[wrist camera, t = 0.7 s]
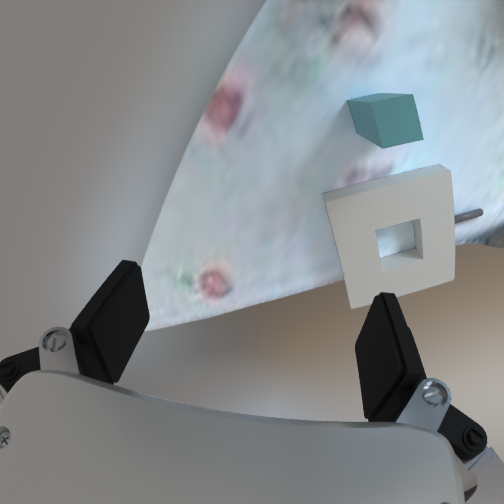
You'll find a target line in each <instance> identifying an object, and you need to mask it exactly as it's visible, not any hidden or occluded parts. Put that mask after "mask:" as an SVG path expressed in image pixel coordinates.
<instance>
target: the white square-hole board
mask: <svg viewBox="0 0 504 504" xmlns="http://www.w3.org/2000/svg"><path fill="white" fill-rule="evenodd" d="M323 198H324V201H325V205H326V209H327V212H328V216H329V219H330V223H331V227H332V231H333V234H334V238H335V242H336V246H337V250H338V254H339V258H340V263H341V267H342V271H343V275H344V280H345V284H346V289H347V293H348V298H349V302H350V307H351V309H354V308H358V307H362V306H366V305H370V304H372V302H373V299H374V297H375V296H376V295H379V294H380V292H387V293H394V294H395V295H396V297H399V296H403V295H406V294H409V293H413V292H416V291H420V290H423V289H426V288H429V287H433V286H436V285H439V284H442V283H445V282H448V281H452V280H454V271H455V223H458V222H462V221H465V220H469V219H472V218H475V217H479V216H482V215H483V210H482V209H477V210H473V211H470V212H466V213H463V214H459V215H456V216H454V202H453V189H452V179H451V170H449V169H447V168H446V167H444V166H442V165H441V164H437V165H433V166H429V167H424V168H420V169H416V170H412V171H408V172H404V173H400V174H395V175H391V176H387V177H383V178H380V179H376V180H372V181H368V182H364V183H360V184H356V185H352V186H349V187H345V188H341V189H337V190H334V191H330V192H326V193H323ZM412 220H413V223H414V232H415V243H416V248H415V249H411V250H408V251H404V252H401V253H397V254H393V255H390V256H386V257H382V258H380V256H379V249H378V243H377V237H376V231H375V230H378V229H382V228H386V227H389V226H393V225H397V224H400V223H404V222H408V221H412Z"/></svg>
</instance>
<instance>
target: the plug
mask: <svg viewBox="0 0 504 504" xmlns="http://www.w3.org/2000/svg"><path fill="white" fill-rule="evenodd" d="M347 102H348V105H349V108H350V111H351V115H352V118H353V121H354V125H355V128H356V132H357V133H358V134H359V135H361V136H363V137H364V138H366V139H368V140H369V141H371V142H373V143H374V144H376V145H378V146H379V147H381V148H382V149H383V148H388V147H392V146H396V145H401V144H405V143H410V142H414V141H419V140H423V135H422V130H421V125H420V121H419V117H418V112H417V108H416V104H415V100H414V97H413V94H393V93H378V94H373V95H368V96H363V97H359V98H354V99H350V100H347Z"/></svg>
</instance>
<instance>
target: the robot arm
mask: <svg viewBox="0 0 504 504" xmlns="http://www.w3.org/2000/svg"><path fill="white" fill-rule="evenodd" d="M149 318H150V315H149V310H148V305H147V299H146V294H145V289H144V283H143V277H142V271H141V267H140V266H138V265H137V263H136V262H134V261H128V260H122V261H121V262H120V263H119V265H118V266H117V267H116V268H115V269H114V271H113V272H112V273H111V274H110V275H109V277H108V278H107V279H106V281H105V282H104V283H103V284H102V285H101V287H100V288H99V289H98V290H97V292H96V293H95V294H94V295H93V297H92V298H91V299H90V301H89V302H88V303H87V304H86V306H85V307H84V308H83V310H82V311H81V313H80V314H79V315H78V316H77V318H76V319H75V320H74V322H73V323H72V325H71V327H70V329H69V330H68V329H66V328H63V327H55V328H52V329H49V330H48V331H46V332H45V333H44V334H43V335H42V336H41V338H40V340H39V347H37V348H34V349H31V350H28V351H25V352H22V353H19V354H16V355H13V356H10V357H7V358H5V359H3V360H2V361H1V362H0V504H502V503H503V502H504V463H503V462H502V460H501V459H500V458H499V456H498V455H497V454H496V453H495V451H494V450H493V448H492V447H490V448H488V447H487V446H486V445H487V435H486V432H485V431H484V429H483V428H482V427H481V426H480V425H479V424H478V423H476V422H474V421H473V420H472V419H471V418H469V417H468V416H466V415H465V414H464V413H462V412H461V411H459V410H458V409H457V408H455V407H454V406H452V405H451V404H450V402H451V393H450V390H449V388H448V387H447V386H446V384H444V383H443V382H442V381H440V380H438V379H435V378H426V374H425V371H424V368H423V365H422V362H421V358H420V355H419V353H418V349H417V347H416V344H415V341H414V338H413V335H412V333H411V330H410V328H409V327H408V326H407V324H406V321H405V318H404V316H403V313H402V310H401V308H400V305H399V303H398V300H397V298H396V295H395V294H394V293H387V292H380V294H379V295H376V296H375V297H374V299H373V302H372V304H371V307H370V310H369V312H368V315H367V317H366V320H365V322H364V324H363V327H362V330H361V332H360V334H359V336H358V339H357V341H356V344H355V352H356V359H357V365H358V372H359V379H360V386H361V394H362V401H363V410H364V417H365V418H366V419H368V422H337V421H311V420H309V421H308V420H294V419H283V418H273V417H263V416H255V415H247V414H240V413H234V412H227V411H221V410H215V409H210V408H204V407H199V406H194V405H189V404H185V403H180V402H176V401H171V400H167V399H163V398H159V397H154V396H151V395H147V394H143V393H140V392H136V391H133V390H129V389H126V388H122V387H119V386H115V385H113V384H114V382H115V383H117V382H118V381H119V379H120V377H121V375H122V373H123V371H124V369H125V367H126V365H127V362H128V361H129V359H130V357H131V355H132V353H133V351H134V349H135V347H136V345H137V343H138V342H139V340H140V338H141V336H142V334H143V332H144V330H145V328H146V326H147V324H148V322H149Z"/></svg>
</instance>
